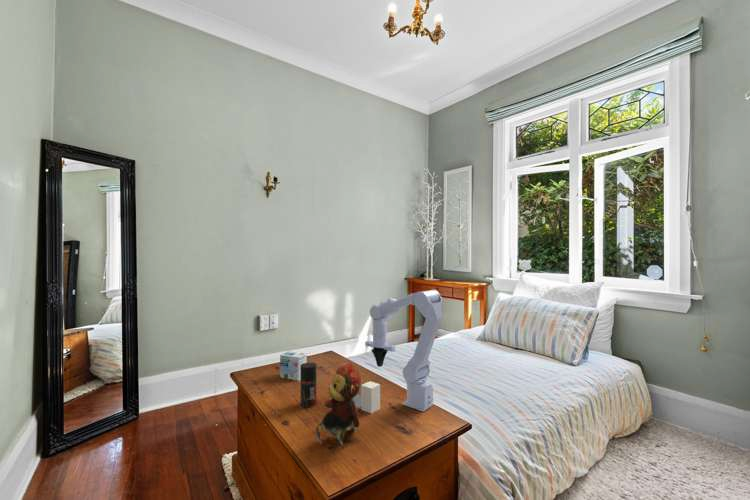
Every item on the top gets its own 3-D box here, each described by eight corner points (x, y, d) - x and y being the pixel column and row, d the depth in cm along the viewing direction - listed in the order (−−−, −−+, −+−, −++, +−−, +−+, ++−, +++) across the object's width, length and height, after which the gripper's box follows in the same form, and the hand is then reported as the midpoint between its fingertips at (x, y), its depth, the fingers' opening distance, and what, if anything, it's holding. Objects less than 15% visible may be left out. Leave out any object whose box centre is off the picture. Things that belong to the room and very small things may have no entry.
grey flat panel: (373, 401, 133) (373, 400, 133) (353, 411, 124) (353, 410, 124) (349, 392, 141) (348, 391, 141) (329, 401, 133) (329, 400, 133)
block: (380, 408, 127) (380, 384, 127) (371, 413, 123) (371, 388, 123) (370, 404, 130) (369, 381, 130) (361, 409, 126) (361, 385, 126)
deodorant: (309, 409, 126) (308, 368, 127) (297, 405, 130) (297, 365, 130) (319, 403, 132) (319, 364, 132) (308, 399, 135) (308, 361, 135)
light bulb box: (279, 378, 158) (279, 354, 158) (288, 373, 164) (288, 350, 164) (298, 381, 154) (298, 357, 154) (307, 376, 160) (307, 353, 160)
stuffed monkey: (342, 415, 118) (355, 348, 114) (372, 448, 106) (387, 374, 102) (303, 427, 109) (315, 355, 105) (330, 465, 96) (345, 385, 92)
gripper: (399, 334, 142) (399, 366, 142) (372, 329, 151) (372, 360, 151) (389, 337, 136) (389, 371, 136) (361, 332, 145) (362, 364, 145)
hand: (379, 365), depth 143 cm, fingers closed
